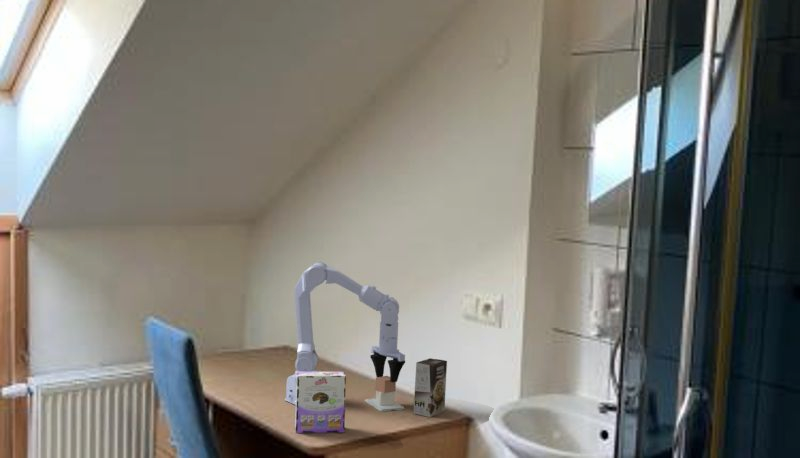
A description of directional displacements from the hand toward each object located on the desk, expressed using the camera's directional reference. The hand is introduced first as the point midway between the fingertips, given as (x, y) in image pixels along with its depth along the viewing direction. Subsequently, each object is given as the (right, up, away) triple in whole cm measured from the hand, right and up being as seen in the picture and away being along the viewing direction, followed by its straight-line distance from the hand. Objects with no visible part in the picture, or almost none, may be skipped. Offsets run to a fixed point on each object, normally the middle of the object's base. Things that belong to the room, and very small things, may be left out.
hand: (386, 379), depth 268 cm
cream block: (-1, -8, +1) cm, 8 cm away
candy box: (-19, -10, -28) cm, 35 cm away
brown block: (0, -4, 0) cm, 4 cm away
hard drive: (-1, -9, +1) cm, 10 cm away
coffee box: (+13, -10, -5) cm, 17 cm away
